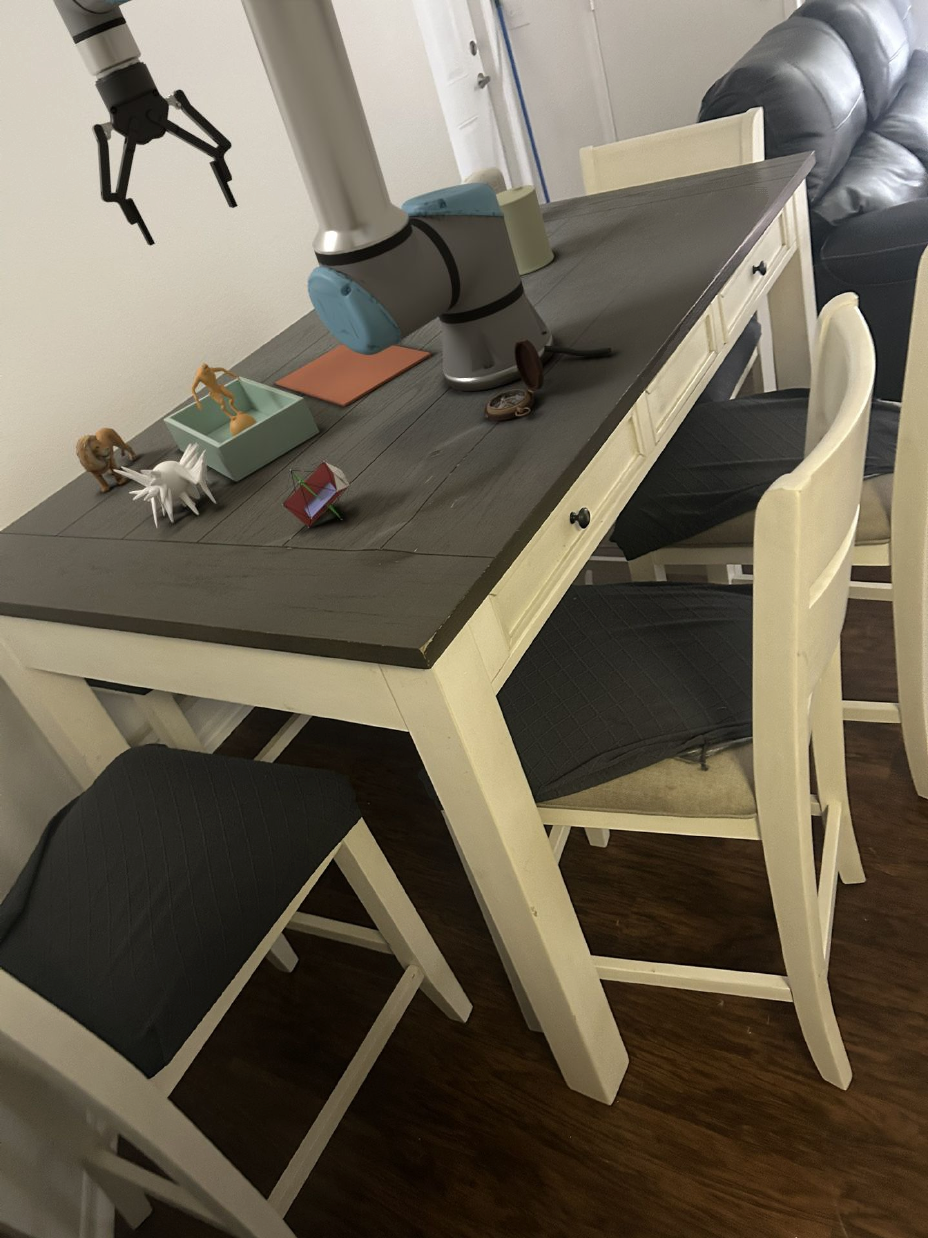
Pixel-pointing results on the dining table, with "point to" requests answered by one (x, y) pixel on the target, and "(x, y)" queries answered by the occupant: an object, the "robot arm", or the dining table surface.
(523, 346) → the compass
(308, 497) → the geometric puzzle
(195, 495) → the spiky ball
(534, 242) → the can
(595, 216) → the dining table surface
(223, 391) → the figurine
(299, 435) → the basin
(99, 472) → the lion figurine
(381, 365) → the mat
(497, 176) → the white curved piece
